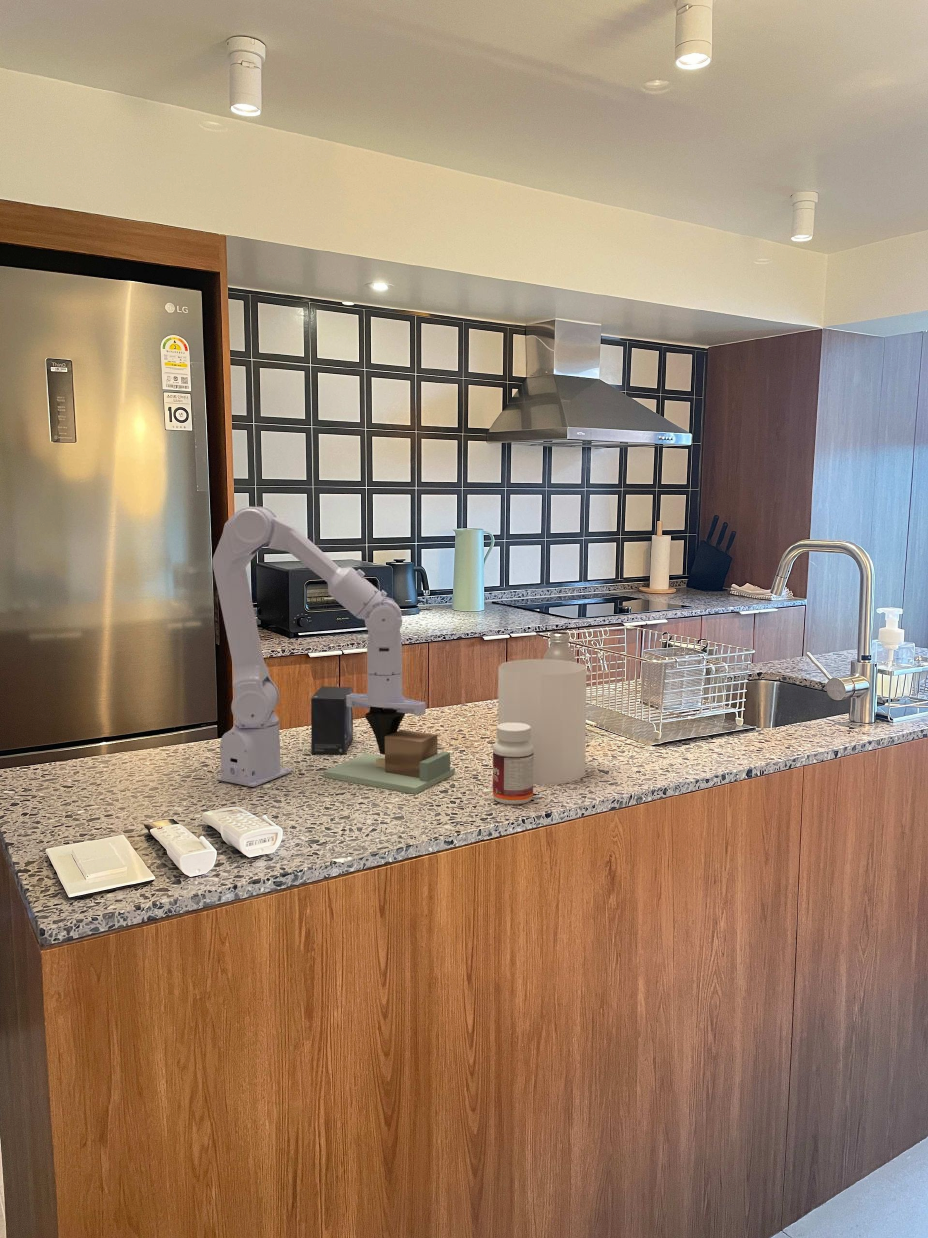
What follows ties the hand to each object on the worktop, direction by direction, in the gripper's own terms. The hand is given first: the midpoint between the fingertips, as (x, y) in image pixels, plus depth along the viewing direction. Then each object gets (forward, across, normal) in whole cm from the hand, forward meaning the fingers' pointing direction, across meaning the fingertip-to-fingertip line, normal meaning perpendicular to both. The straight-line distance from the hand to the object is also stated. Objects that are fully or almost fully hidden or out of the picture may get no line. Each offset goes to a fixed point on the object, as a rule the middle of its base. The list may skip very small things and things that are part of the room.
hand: (385, 752), depth 147 cm
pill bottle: (+4, -24, +2) cm, 25 cm away
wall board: (+3, -1, +1) cm, 4 cm away
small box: (+4, +18, -8) cm, 20 cm away
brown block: (+2, -5, 0) cm, 6 cm away
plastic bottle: (+4, -15, -36) cm, 40 cm away
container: (+4, -22, -14) cm, 26 cm away
